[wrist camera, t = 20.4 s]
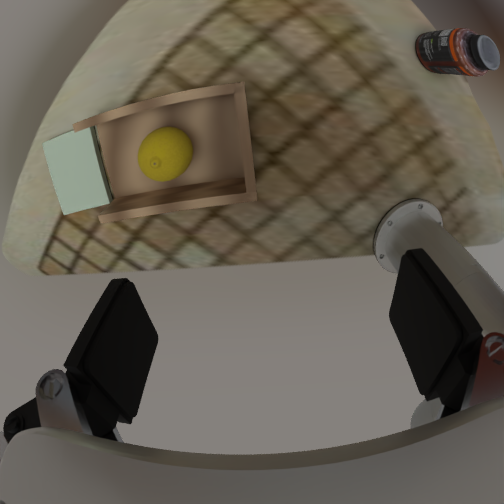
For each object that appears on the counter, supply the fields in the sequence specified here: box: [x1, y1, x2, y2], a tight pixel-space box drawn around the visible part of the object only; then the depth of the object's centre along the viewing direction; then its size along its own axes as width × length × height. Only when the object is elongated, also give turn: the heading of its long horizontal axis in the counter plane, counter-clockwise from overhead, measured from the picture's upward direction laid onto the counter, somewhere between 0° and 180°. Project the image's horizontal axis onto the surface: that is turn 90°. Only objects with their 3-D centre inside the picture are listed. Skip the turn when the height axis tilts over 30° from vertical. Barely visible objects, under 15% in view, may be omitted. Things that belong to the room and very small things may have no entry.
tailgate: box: [42, 126, 113, 215], centre depth 30 cm, size 2×11×8 cm
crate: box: [73, 82, 257, 224], centre depth 27 cm, size 18×12×6 cm, turn 96°
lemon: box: [138, 127, 193, 182], centre depth 26 cm, size 6×6×8 cm
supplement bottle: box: [416, 28, 500, 76], centre depth 18 cm, size 6×6×11 cm
